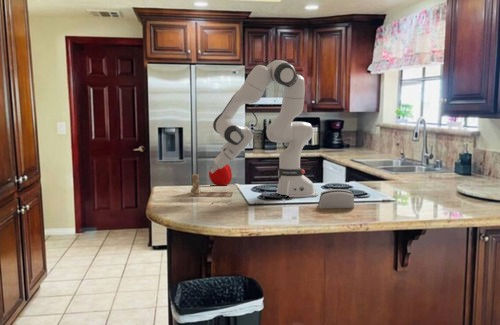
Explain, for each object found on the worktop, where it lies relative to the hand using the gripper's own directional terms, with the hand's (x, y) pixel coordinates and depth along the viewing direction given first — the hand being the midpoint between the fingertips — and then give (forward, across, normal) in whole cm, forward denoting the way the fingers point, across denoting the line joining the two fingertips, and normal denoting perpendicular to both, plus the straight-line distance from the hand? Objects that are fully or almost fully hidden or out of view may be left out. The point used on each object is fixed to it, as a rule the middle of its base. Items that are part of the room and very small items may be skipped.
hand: (210, 170), depth 224 cm
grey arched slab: (-31, +34, +50) cm, 68 cm away
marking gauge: (+14, -2, +3) cm, 15 cm away
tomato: (+5, -31, +15) cm, 34 cm away
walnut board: (+10, +2, +10) cm, 14 cm away
